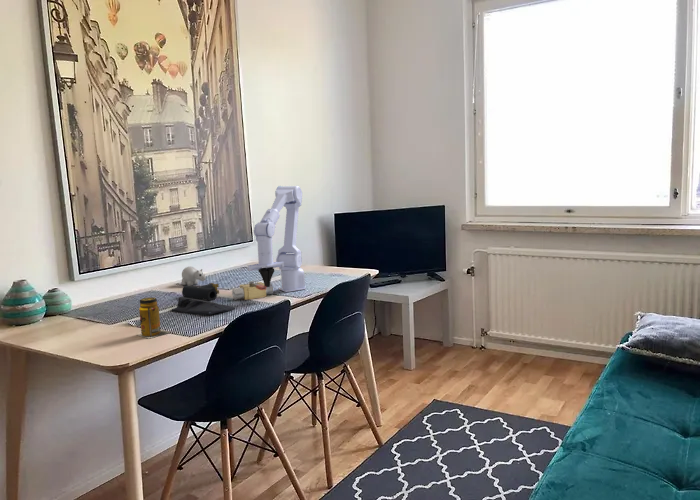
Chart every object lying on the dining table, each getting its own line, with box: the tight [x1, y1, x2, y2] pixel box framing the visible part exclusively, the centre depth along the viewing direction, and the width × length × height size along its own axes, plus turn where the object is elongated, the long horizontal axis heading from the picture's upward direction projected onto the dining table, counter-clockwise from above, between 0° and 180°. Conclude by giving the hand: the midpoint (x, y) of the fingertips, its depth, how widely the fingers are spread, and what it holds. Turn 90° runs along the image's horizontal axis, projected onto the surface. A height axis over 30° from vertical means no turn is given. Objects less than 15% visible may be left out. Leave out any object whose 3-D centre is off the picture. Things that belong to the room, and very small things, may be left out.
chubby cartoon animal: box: [181, 266, 207, 286], centre depth 271 cm, size 7×12×8 cm, turn 66°
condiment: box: [137, 296, 170, 339], centre depth 195 cm, size 7×8×12 cm
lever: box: [248, 280, 266, 290], centre depth 239 cm, size 13×3×1 cm, turn 30°
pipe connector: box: [181, 282, 220, 302], centre depth 248 cm, size 12×5×15 cm
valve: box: [231, 281, 274, 301], centre depth 244 cm, size 16×6×5 cm, turn 120°
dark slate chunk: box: [171, 296, 236, 316], centre depth 226 cm, size 15×22×5 cm
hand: (267, 286), depth 238 cm, fingers closed
